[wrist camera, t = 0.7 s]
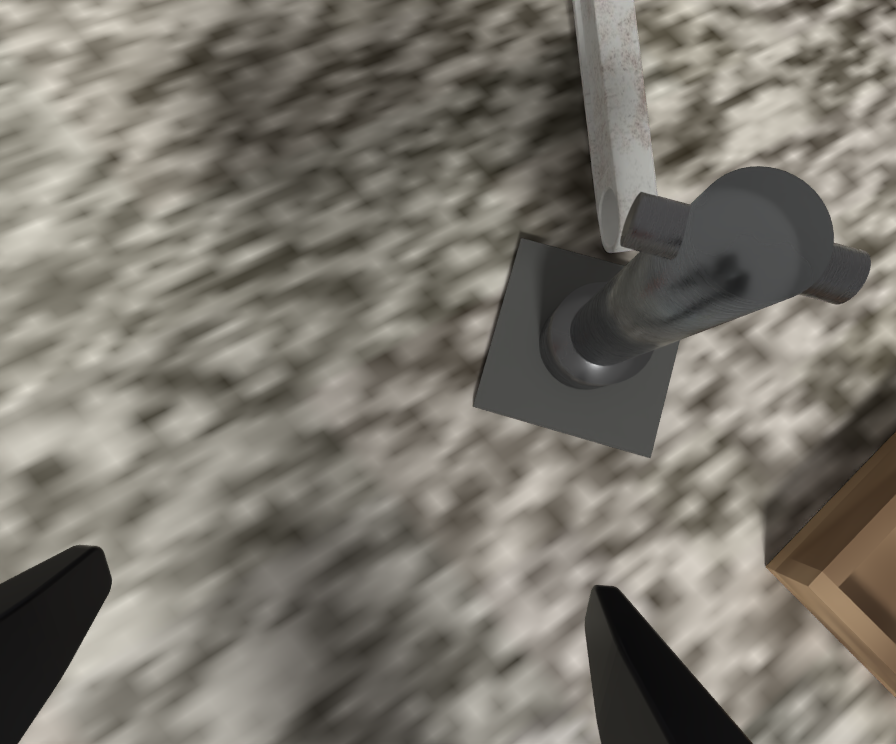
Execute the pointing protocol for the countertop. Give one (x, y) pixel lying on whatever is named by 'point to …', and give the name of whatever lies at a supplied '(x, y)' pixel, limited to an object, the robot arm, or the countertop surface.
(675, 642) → the countertop surface
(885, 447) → the tray
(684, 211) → the chuck key
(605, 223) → the wrench
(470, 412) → the countertop surface
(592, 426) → the mat
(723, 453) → the countertop surface
